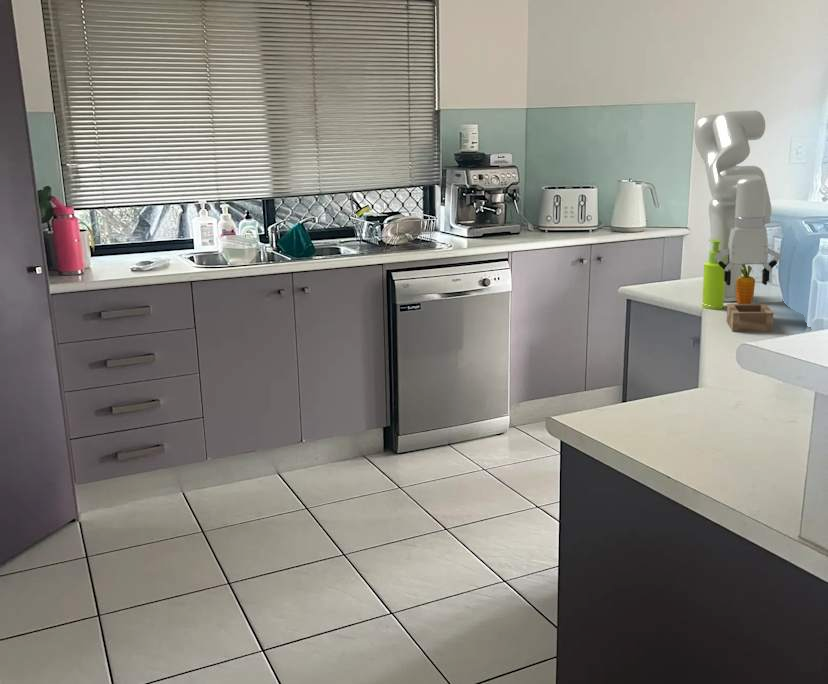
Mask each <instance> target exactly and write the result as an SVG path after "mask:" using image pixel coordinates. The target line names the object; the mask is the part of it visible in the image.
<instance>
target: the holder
mask: <svg viewBox="0 0 828 684" xmlns="http://www.w3.org/2000/svg"><path fill="white" fill-rule="evenodd" d="M726 323H727V325H728V326H729V328H730V330H731V332H773V325H774V324H773V323H774V312H773V311H772V309H770V307H769V306H768V305H767V304H766V303H751V304H737V303H728V304H727V305H726Z"/></svg>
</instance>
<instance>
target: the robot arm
mask: <svg viewBox="0 0 828 684" xmlns="http://www.w3.org/2000/svg"><path fill="white" fill-rule="evenodd" d="M693 129H694V130H693V135H694V142H695V146H696V149H697V151H698V154H699V155H700V158H702V160H703V164H704V165H705V171H706V176H707V182H708V186H709V190H710V194H711V197H712V199H711V200H710V202H709V203H708V204H709V205H708V216H709V225H710V226H709V227H710V239H718V240H719V241H720V244H719V251H721V252H720V253H718V254H716V255H715V258H716V260H717V262H718V264H719V265H720V266H721V267H722V268H723V269H724V300H723V303H724V302H725V303H729V302H730V303H731V302H737V298H736V281H737V279H738V278H739V277H741V276H743V274H742V273H741V271H740V269H743V267H742V264H745V265H762V266H763V269H762V276H761V283H762V284H763V285H764V286H767V285H768V282H770V273H771V272H770V271H771V270H772V269H773V268H774V267H776V265H777V264H778V262H779V260H780V259H781V257H782V254H781V253H779V252H778V251H776V250H773V249H771V248H769V245H768V244H769V243H768V230H767V227H766V226H765V225H767V224H770V223H771V216H772V203H771V198H770V193H769V188H768V184H767V181H766V177H765V176H766V175H765V173H764V171H763V170H762V169H761V168H760V167H759V166H756V165H739V164H741V163H743V162H744V161H745V160H746V159H747V158H748V157H749V155H750V152H751V147H750V144H749V141H756V140H760V139H762V137H763V136H764V134H765V131H766V121H765V117H764V116H763V114H762V112H760V111H758V110H739V111H737V110H736V111H734V110H733V111H727V112H722V113H716V114H709V115H704V116H702V117H700V118H699V119H698V120H697V121H696V122H695V124H694V128H693ZM709 242H710V246H709V247H710V249H709V252H710V251H711V250H712V247H713V243H712V242H711V241H709ZM769 255H771V256H773V258H772V260H770V261H769V262H767V261H768V259H769ZM724 263H725V264H724Z"/></svg>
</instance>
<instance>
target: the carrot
mask: <svg viewBox="0 0 828 684" xmlns="http://www.w3.org/2000/svg"><path fill="white" fill-rule="evenodd" d="M752 269H753V267H752V266H750V265H747V266H746V264H742V269H740V271H741V273H742V276H741V277H739V278H738V279H737V281H736V298H737V301H736V304H753V299H754V295H755V293H754V292H755V285H756V284H755V283H756V280H755V278H754V277H753V276H751V275H750V273H751V271H752Z"/></svg>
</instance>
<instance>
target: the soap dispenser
mask: <svg viewBox="0 0 828 684" xmlns="http://www.w3.org/2000/svg"><path fill="white" fill-rule="evenodd" d="M709 242H712V243H713V247H712V250H711V251H710V250H709V252H708V261H706V262H704V263H703V279H702V280H703V283H702V301H701V306H702V308H703V309H707V310H719V309H723V308H724V302H723V300H724V269H723V268H722V267H721V266H720V265H719V264H718V262H717V260H716V258H715V255H716V254H718V253H720V252H721V251H719V244H720V241H719V240H718V239H711V238H710V239H709ZM724 264H725V263H724ZM702 302H703V303H704V304H707V305H704V304H702ZM708 305H711V306H708Z"/></svg>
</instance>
